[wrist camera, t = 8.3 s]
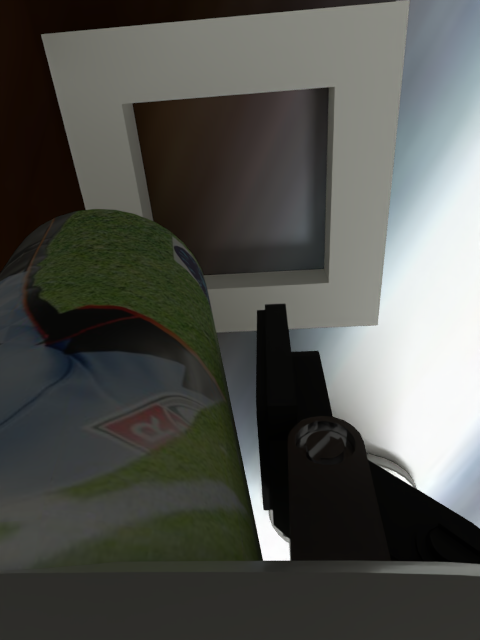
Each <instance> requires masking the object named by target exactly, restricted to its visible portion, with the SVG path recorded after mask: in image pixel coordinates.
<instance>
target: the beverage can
mask: <svg viewBox="0 0 480 640" xmlns="http://www.w3.org/2000/svg"><path fill="white" fill-rule="evenodd" d="M138 561H263V559H262V554H261V549H260V544H259V539H258V534H257V529H256V524H255V520H254V515H253V510H252V505H251V500H250V495H249V490H248V485H247V480H246V475H245V471H244V466H243V461H242V456H241V451H240V446H239V441H238V436H237V431H236V427H235V422H234V417H233V412H232V407H231V402H230V397H229V392H228V387H227V382H226V378H225V373H224V368H223V363H222V358H221V353H220V348H219V343H218V338H217V334H216V329H215V324H214V319H213V314H212V309H211V304H210V299H209V294H208V290H207V285H206V281H205V278H204V275H203V272H202V269H201V267H200V266H199V264H198V262H197V260H196V259H195V257H194V255H193V254H192V253H191V251H190V250H189V249H188V248H187V247H186V246H185V244H184V243H183V242H182V241H181V240H180V239H178V238H177V237H176V236H175V235H174V234H173V233H171V232H170V231H169V230H167V229H166V228H164V227H162V226H161V225H159V224H157V223H155V222H154V221H152V220H149V219H147V218H144V217H141V216H139V215H136V214H133V213H128V212H123V211H119V210H109V209H90V210H82V211H75V212H72V213H68V214H65V215H62V216H58V217H56V218H54V219H52V220H50V221H48V222H46V223H45V224H43V225H41V226H39V227H38V228H37V229H36V230H34V231H33V232H32V233H31V234H29V235H28V236H27V237H26V238H25V239H24V241H23V242H22V243H21V244H20V246H19V247H18V248H17V249H16V250H15V252H14V253H13V255H12V256H11V258H10V259H9V261H8V262H7V264H6V265H5V267H4V268H3V270H2V271H1V273H0V571H5V570H22V569H38V568H50V567H62V566H76V565H89V564H99V563H109V562H138Z"/></svg>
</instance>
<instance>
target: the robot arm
mask: <svg viewBox="0 0 480 640" xmlns="http://www.w3.org/2000/svg"><path fill="white" fill-rule="evenodd" d="M256 408H257V426H258V440H259V453H260V467H261V481H262V495H263V509H264V510H269V518H270V521H271V523H272V526H273V528H274V529H275V531H276V532H277V533H278V535H279V536H281V537H282V538H283V539H284V540H285V541H286V542H288V543H289V548H290V561H138V562H109V563H99V564H89V565H76V566H62V567H50V568H38V569H22V570H5V571H0V640H480V528H478V527H477V526H476V525H474V524H473V523H472V522H470V521H468V520H467V519H465V518H463V517H462V516H460V515H458V514H457V513H455V512H454V511H452V510H450V509H449V508H447V507H445V506H444V505H442V504H440V503H439V502H437V501H435V500H434V499H432V498H431V497H429V496H427V495H426V494H424V493H422V492H421V491H419V490H417V488H416V486H415V483H414V481H413V479H412V478H411V477H410V475H409V474H408V473H407V472H406V471H405V470H404V469H402V468H401V467H400V466H398V465H397V464H395V463H393V462H391V461H389V460H387V459H385V458H381V457H378V456H375V455H371V454H366V450H365V445H364V441H363V439H362V437H361V435H360V433H359V432H358V431H357V430H356V429H355V428H354V427H353V426H352V425H351V424H349V423H347V422H346V421H344V420H341V419H338V418H335V417H333V416H332V412H331V407H330V402H329V397H328V393H327V388H326V383H325V378H324V374H323V369H322V364H321V359H320V355H319V352H318V351H301V352H291V347H290V338H289V329H288V321H287V312H286V304H265V310H257V364H256Z"/></svg>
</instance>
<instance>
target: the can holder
mask: <svg viewBox="0 0 480 640" xmlns="http://www.w3.org/2000/svg"><path fill="white" fill-rule="evenodd" d="M409 3H410V0H407V1H396V2H385V3H374V4H364V5H353V6H342V7H331V8H320V9H310V10H299V11H288V12H277V13H266V14H256V15H245V16H234V17H223V18H212V19H202V20H191V21H180V22H169V23H158V24H148V25H137V26H126V27H115V28H104V29H94V30H83V31H72V32H61V33H50V34H41V37H42V41H43V44H44V48H45V52H46V56H47V60H48V64H49V68H50V72H51V76H52V80H53V84H54V87H55V91H56V95H57V99H58V103H59V107H60V111H61V115H62V119H63V123H64V127H65V130H66V134H67V138H68V142H69V146H70V150H71V154H72V158H73V162H74V166H75V170H76V174H77V177H78V181H79V185H80V189H81V193H82V197H83V201H84V205H85V209H86V210H90V209H109V210H119V211H123V212H128V213H133V214H136V215H139V216H141V217H144V218H147V219H149V220H152V221H153V217H152V211H151V205H150V200H149V194H148V189H147V183H146V177H145V172H144V166H143V161H142V155H141V149H140V144H139V138H138V133H137V127H136V122H135V116H134V110H133V105H132V103H140V102H152V101H164V100H177V99H189V98H201V97H214V96H226V95H239V94H251V93H263V92H276V91H288V90H300V89H313V88H325V87H329V96H328V136H327V175H326V215H325V254H324V269H311V270H293V271H274V272H256V273H237V274H219V275H204V278H205V281H206V285H207V290H208V294H209V299H210V304H211V309H212V314H213V319H214V324H215V329H216V333H218V332H240V331H257V310H265V304H286V312H287V321H288V329H305V328H327V327H349V326H371V325H378V315H379V305H380V295H381V285H382V275H383V265H384V254H385V244H386V234H387V224H388V214H389V204H390V194H391V184H392V174H393V164H394V154H395V144H396V134H397V124H398V114H399V104H400V94H401V84H402V74H403V63H404V53H405V43H406V33H407V23H408V13H409Z"/></svg>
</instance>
